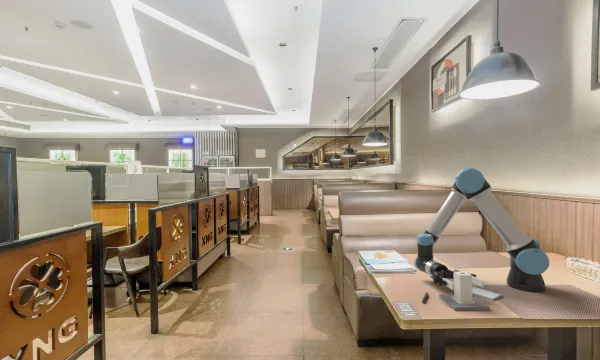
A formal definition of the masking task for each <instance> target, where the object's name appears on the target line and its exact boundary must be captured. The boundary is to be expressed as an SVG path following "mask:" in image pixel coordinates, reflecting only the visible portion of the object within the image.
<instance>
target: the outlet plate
mask: <svg viewBox="0 0 600 360" xmlns="http://www.w3.org/2000/svg"><path fill="white" fill-rule="evenodd" d="M438 297H439V298H440V299H441V300H442V301H443V302H444V303H446V304H447V305H448V306H449V307H450V308H451V309H452V310H453V311H490V310H491V307H490V306H489V305H488V304H486V303H485V302H483V301H482V300H481V299H479V298H478V297H477V296H475V295H472V302H460V301H459V300H457V299H456V298H455V297H454V293H440V294H438Z"/></svg>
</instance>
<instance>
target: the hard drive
mask: <svg viewBox="0 0 600 360" xmlns="http://www.w3.org/2000/svg"><path fill="white" fill-rule="evenodd" d="M472 295H473V296H474V297H477V298H483V299H485V300H489V301H493V302H494V301H497V300H498V299H501V298H502V297H503V294H501V293H497V292H493V291H490V290H487V289H484V288H479V287H476V286H472Z"/></svg>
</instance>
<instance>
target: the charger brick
mask: <svg viewBox="0 0 600 360" xmlns="http://www.w3.org/2000/svg"><path fill="white" fill-rule="evenodd" d="M471 274H472V273H470V274H469V272H466V271H461V272H454V275H453V277H454V279H453V283H454V290H453V294H454V297H455V298H456V299H457V300H459V301H460V302H472V287H473V283H472V275H471Z"/></svg>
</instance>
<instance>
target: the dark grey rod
mask: <svg viewBox="0 0 600 360" xmlns="http://www.w3.org/2000/svg"><path fill="white" fill-rule="evenodd" d="M428 296H429V292H425V293H424V296H423V298H422V300H421V303H422V304H425V302H426V300H427V298H428Z"/></svg>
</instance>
